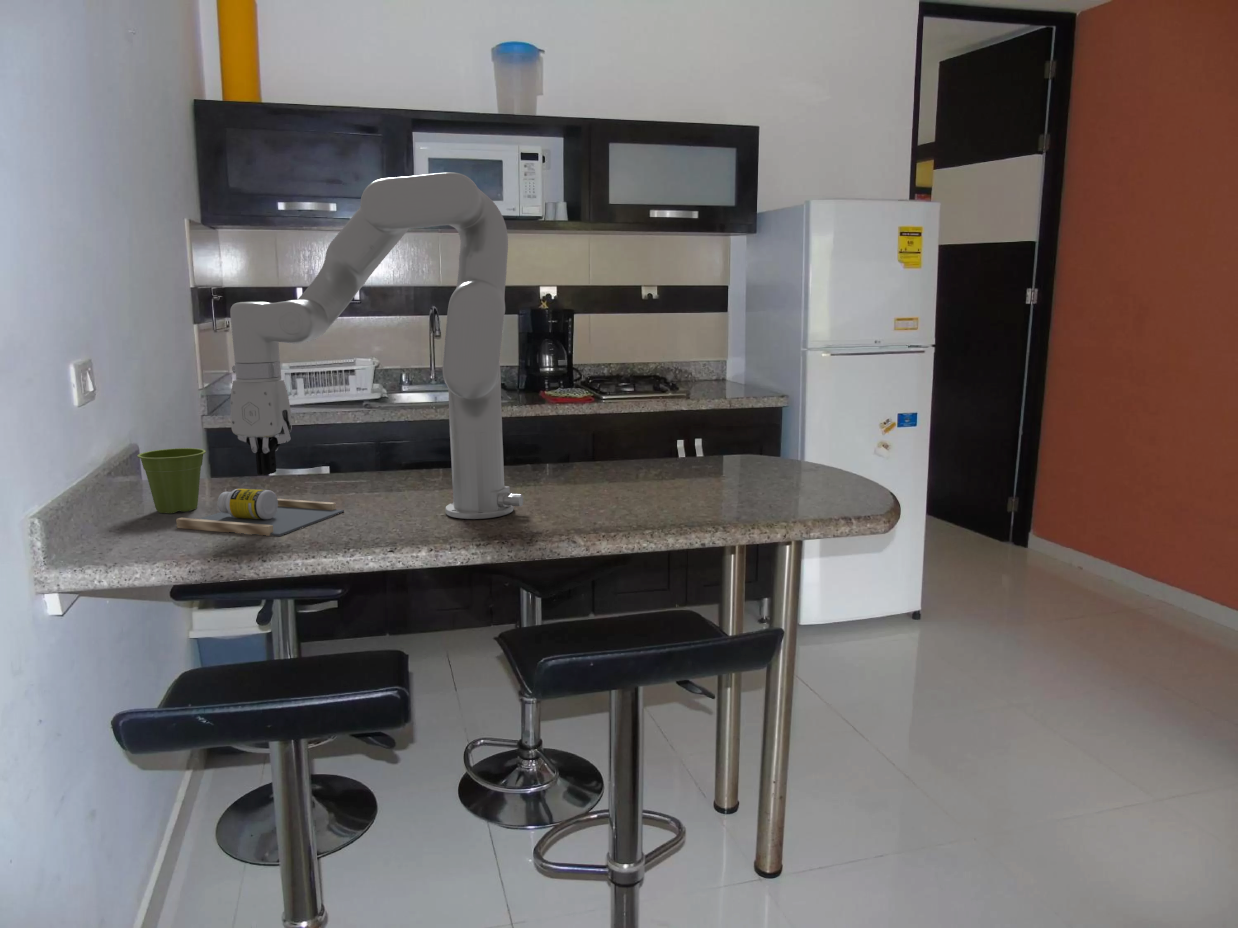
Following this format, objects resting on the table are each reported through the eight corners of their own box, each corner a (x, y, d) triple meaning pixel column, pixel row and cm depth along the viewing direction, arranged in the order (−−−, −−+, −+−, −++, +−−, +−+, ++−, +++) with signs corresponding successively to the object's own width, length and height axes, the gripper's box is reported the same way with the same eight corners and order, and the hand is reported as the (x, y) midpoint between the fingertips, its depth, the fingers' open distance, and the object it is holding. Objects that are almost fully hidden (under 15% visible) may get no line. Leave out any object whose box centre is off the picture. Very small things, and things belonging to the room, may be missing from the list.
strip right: (336, 510, 175) (335, 502, 175) (332, 512, 174) (331, 504, 174) (251, 504, 181) (250, 496, 181) (246, 505, 180) (246, 497, 180)
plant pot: (202, 515, 173) (196, 456, 171) (134, 518, 172) (127, 459, 169) (218, 501, 185) (212, 446, 183) (155, 504, 183) (149, 448, 181)
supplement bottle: (256, 497, 163) (210, 496, 166) (264, 524, 166) (219, 522, 168) (274, 484, 168) (230, 483, 171) (282, 511, 170) (237, 509, 173)
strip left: (273, 534, 159) (272, 525, 158) (268, 535, 158) (268, 526, 157) (182, 526, 165) (181, 517, 165) (177, 527, 164) (176, 519, 164)
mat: (344, 512, 174) (343, 509, 174) (280, 536, 157) (279, 533, 157) (249, 504, 181) (249, 503, 181) (178, 527, 164) (178, 525, 164)
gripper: (209, 373, 162) (218, 475, 166) (278, 375, 158) (287, 479, 161) (239, 369, 169) (248, 467, 173) (307, 371, 165) (314, 471, 168)
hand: (267, 473), depth 167 cm, fingers closed
